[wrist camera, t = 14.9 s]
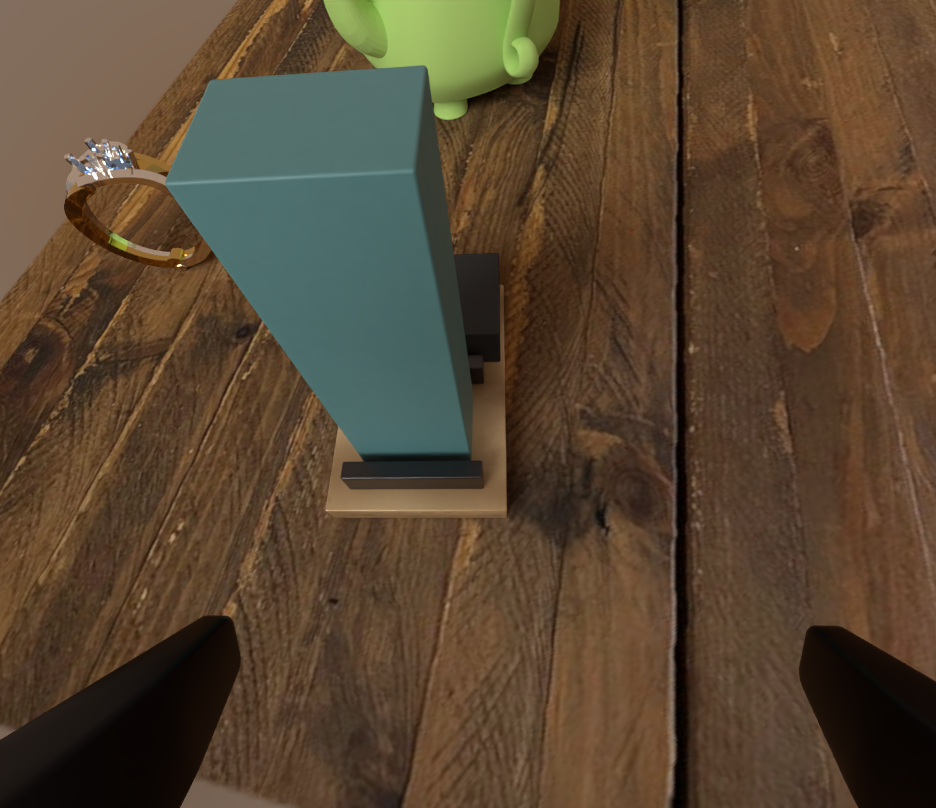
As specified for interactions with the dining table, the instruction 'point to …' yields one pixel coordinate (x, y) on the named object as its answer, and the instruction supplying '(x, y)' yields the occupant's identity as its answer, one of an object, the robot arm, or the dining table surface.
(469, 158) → the dining table surface
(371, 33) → the teapot
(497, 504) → the seat frame
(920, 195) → the dining table surface
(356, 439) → the back pad
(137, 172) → the ring
